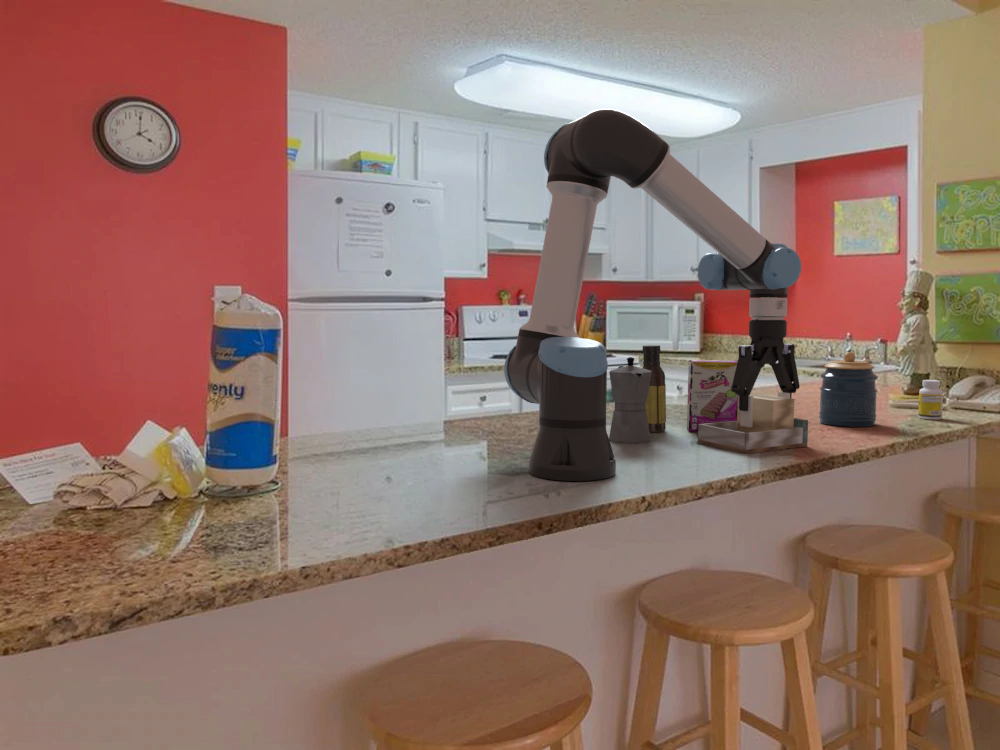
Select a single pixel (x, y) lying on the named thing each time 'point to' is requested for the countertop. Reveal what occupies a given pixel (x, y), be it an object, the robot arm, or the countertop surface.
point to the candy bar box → (711, 393)
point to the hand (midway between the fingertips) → (764, 424)
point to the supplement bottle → (930, 400)
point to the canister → (848, 393)
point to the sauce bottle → (655, 389)
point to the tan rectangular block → (769, 414)
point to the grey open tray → (753, 437)
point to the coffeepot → (630, 404)
